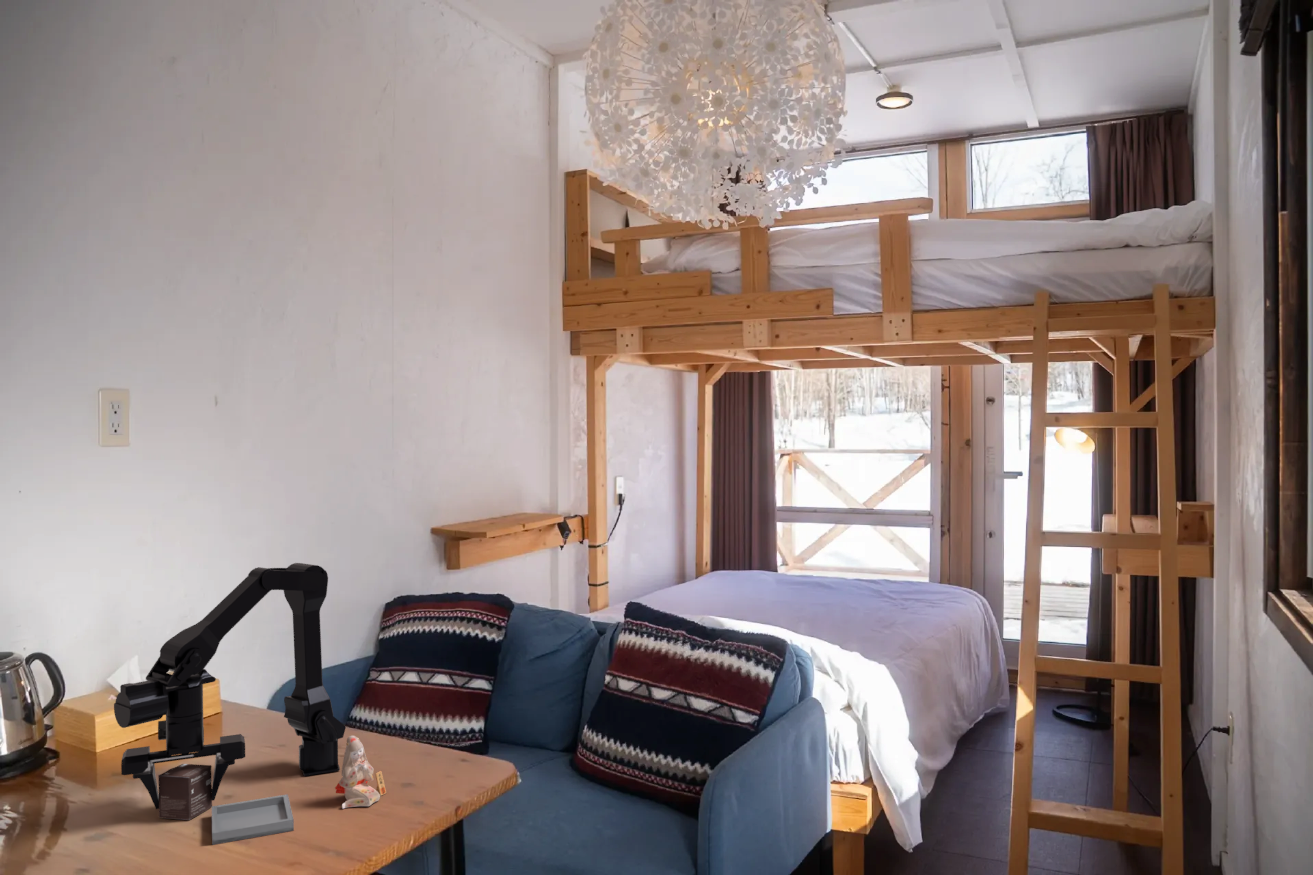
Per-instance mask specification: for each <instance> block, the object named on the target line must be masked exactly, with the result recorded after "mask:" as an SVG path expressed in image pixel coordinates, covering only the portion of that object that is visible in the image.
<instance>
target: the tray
mask: <svg viewBox="0 0 1313 875" xmlns="http://www.w3.org/2000/svg"><path fill="white" fill-rule="evenodd" d="M294 819H295V818H294V816H293V812H292V808H291V803H290V797H289V794H288V793H287V794H286V793H285V794H282V795H281V794H280V795H275V796H268V797H263V798H256V799H250V800H244V801H243V800H242V801H238V802H231V803H225V804H219V805H212V807H211V839H212V843H211V844H212V845H211V846H214V845H220V844H226V843H231V842H236V841H242V840H248V839H253V838H254V839H255V838H259V837H264V836H271V835H275V834H282V833H288V832H293V831H294V830H295V827H294V826H295V825H294V822H295V821H294Z"/></svg>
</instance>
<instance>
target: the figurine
mask: <svg viewBox="0 0 1313 875" xmlns="http://www.w3.org/2000/svg"><path fill="white" fill-rule="evenodd" d="M341 767H342V768H341V778H340V780H339V781H338V783H337V784H336V786H335V787H334V789H335V794H341V795H344V797H345V799H346V800H345V802H343V803H342V804H341V809H346V808H347V809H348V808H354V807H357V808H358V807H370V806H372V805H373V804H374V803H376V802H379V800H380V799H381V796H383V795H385V794H387V790H386V789H387V788H386V786H385V781H384V776H383V772H382V770H380V771H378V772H375V773H374V769H375V768H374V767H373V766H372V765H371V763H370V762H369V761H368V758H367V755H366V752H365V748H364V745H363V742H361V740H360V738H359V737H357V736H356V735H349V736H348V737H347V738H346V746H345V751H344V755H343V762H342V766H341ZM373 775H375V779H374V776H373ZM374 780H376V789H375V788H374V787H372V786H370V785H369V784H368V782H373V781H374Z"/></svg>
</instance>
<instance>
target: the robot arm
mask: <svg viewBox="0 0 1313 875" xmlns="http://www.w3.org/2000/svg"><path fill="white" fill-rule="evenodd" d="M328 583H329V575H328V572H327V570H325V569H324V568H323V567H322V566H320V565H318V564H317V565H316V564H309V563H302V562H295V563H292V564H290V565H288V566H287V567H271V568H270V567H268V568H266V567H255V568H253V569H252V570H250V571H249V573H248V574H247V576H246V577H245V578H244V579H243V580H242V581H241V582H240V583H239V584H238V585H237V586H236V587H235V588H234V589H233V590H232V591H231V592H229V593H228V594H227V595H226V596H225V597H224V598H223V599H222V600H221V601H220V602H219V603H218V604H217V605H216V606H215V607H214V608H213V609H211V611H210V612H208V613H207V615H205V616H204V617H203V618H202V619H201V620H200V621H197V623H195V624H193V625H190V626H189V627H187V628H185V629H183V630H181V631H179V632H178V633H177V634H175V635H174V636H172V637H171V638H169V639H168V640H167V641H165V643H163V645H162V646H161V648H160V650H159V653H160V654H159V656H158V658H157V660H156V661H155V663H154V664H153V666H152V667H151V669H150V670H149V672H147V673H148V674H147V675H146V676H145V681H144V680H143V681H139V682H135V683H134V682H133V683H130V682H129V683H124V684H121V685H120V687H119V688H120V692H119V693H118V694H117V696H116V698H115V703H113V712H114V716H115V721H116V722H117V724H118V726H119V727H120V728H122V729H125V728H130V727H134V726H138V725H142V724H145V723H150V722H154V721H157V720H158V722H157V740H158V741H164V740H165V748H166V749H164V750H159V751H158V750H157V751H151V747H150V745H148V746H141V747H140V746H139V747H134V748H131V747H130V748H127V749H126V750H124V752H123V753H122V757H121V764H120V765H121V768H120V769H121V772H120V773H121V776H128V775H129V776H130V775H132V779H139V780H140V781H141V783H142V784H143V785H144V787H145V789H146V791H147V793H148V794H149V796H150V798H151V800H152V803H153V805H154V808H155V810H159V787H158V783H157V774H156V766H155V765H156V764H161V763H167V762H168V763H169V762H175V761H182V760H189V759H190V760H191V759H196V758H205V757H209V756H210V757H212V756H215V760H214V769H213V777H212V802H213V801H215V799H216V797H217V794H218V791H219V788H220V784H221V783H222V779H223V777H224V775H225V774H226V771H227V770H228V767H229V766H232V765H235V763H236V760H242V759H245V758H246V740H245V736H244V735H242V734H241V733H239V734H231V735H224V736H223V735H222V736H219V742H218V743H209V744H204V743H205V732H204V731H205V729H204V728H205V727H204V685H205V684H210V683H214V682H216V680H217V679H216V677H215V676H213V675H211V674H210V673H209V672H208V671H207V669H206V667H207V665H208V664H209V663H210V661H211V660H212V659H213V658H214V656H215V654H216V653H217V651H218V648H219V645H220V643H221V642H222V640H223V639H224V637H225V636H227V634H228V633H229V632H230V631H231V630H232V629H233V628H234V627H235V626H236V625H237V624H238V623H239V622H240V621H241V620H242V619H243V618H245V616H246V615H248V613H249V612H250V611H251V610H252V609H253V608H255V607H256V605H257V604H259V602H260V601H261V600H263V598H265V597H266V595H268V594H269V593H270V592H271V591H283V594H284V598H285V599H286V602H287V603H288V605H289V608H290V610H291V612H292V626H293V627H292V628H293V629H292V630H293V650H294V652H293V653H294V655H293V656H294V675H295V676H294V679H295V682H294V683H295V684H294V685H295V687H294V689H293V691H292V693H291V695H287V696H284V698H283V699H284V701H283V702H284V710H285V711H284V715H283V718H285V719H287V723H288V725H289V726H291V727H292V728H293V729H294V732H295V734H296V736H298V737H301V744H299V745H298V767H299V770H300V771H302V773H303V776H305V777H307V776H315V775H319V774H328V773H333V772H338V771H340V770H341V768H340V765H339V740H340V739H342V738H344V734H345V731H346V727H347V726H346V725H344V724H343V723H342V722H341V721H339V719H338V718H336V717H335V716H334V712H333V707H332V706H333V705H332V701H331V698H330V696H329V693H328V692H327V690H326V688H325V686H324V683H323V664H322V660H323V659H322V657H323V656H322V637H321V608H322V606H323V603H324V601H325V600H326V597H327V593H328V585H329V584H328ZM169 671H171V672H173V673H172V674H171V673H168V672H169ZM163 716H165V719H164V720H161V719H162V718H163Z"/></svg>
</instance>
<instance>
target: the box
mask: <svg viewBox="0 0 1313 875" xmlns="http://www.w3.org/2000/svg"><path fill="white" fill-rule="evenodd" d="M212 784H213V779H212V764H211V765H210V764H192V763H182V764H180V765H178V766H175V767H172V768H170V769H168V770H166V771H164V772H163V773H161V774H158V794H159V809H158V818H159V819H172V820H182V821H183V820H185V821H190V820H192V819H194V818H196V817H197V816H199V815H201V814H203V813H204V812H206V811H208V810H209V809H212V806H213V801H212Z"/></svg>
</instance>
